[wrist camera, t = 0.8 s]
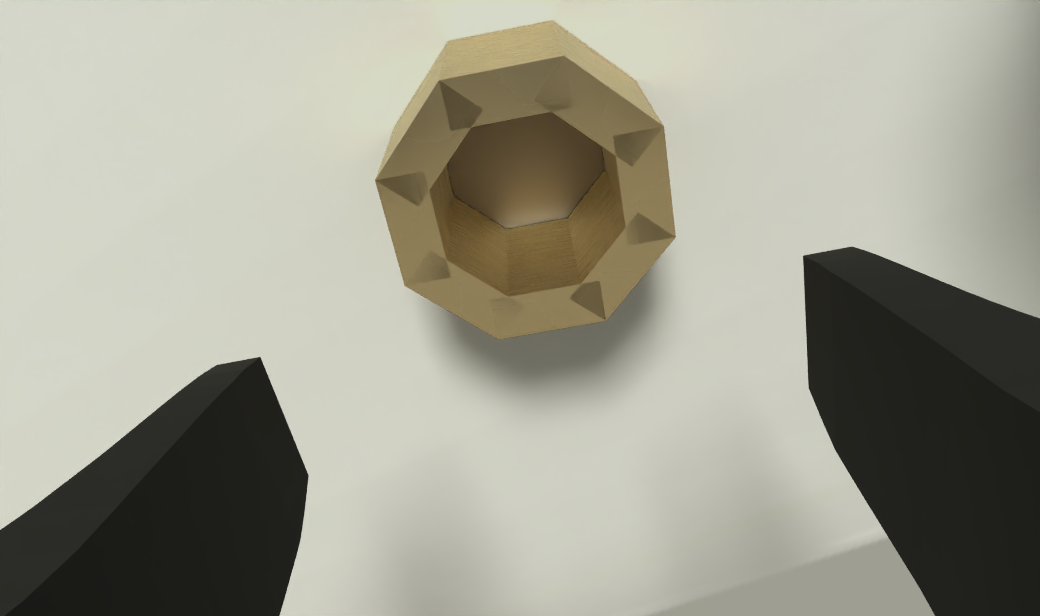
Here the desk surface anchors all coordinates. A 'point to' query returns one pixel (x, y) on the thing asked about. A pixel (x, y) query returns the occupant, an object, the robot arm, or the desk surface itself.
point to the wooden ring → (539, 247)
